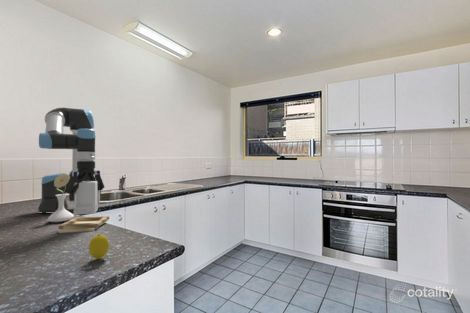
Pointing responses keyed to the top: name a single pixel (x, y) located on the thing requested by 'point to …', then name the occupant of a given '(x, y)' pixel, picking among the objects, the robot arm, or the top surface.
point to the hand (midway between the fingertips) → (86, 205)
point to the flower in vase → (61, 201)
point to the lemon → (98, 246)
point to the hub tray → (82, 224)
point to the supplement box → (86, 198)
